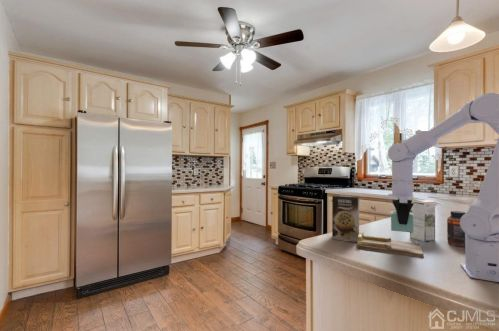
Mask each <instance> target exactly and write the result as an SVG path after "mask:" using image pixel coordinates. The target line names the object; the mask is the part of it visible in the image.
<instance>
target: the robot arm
mask: <svg viewBox="0 0 499 331" xmlns="http://www.w3.org/2000/svg"><path fill="white" fill-rule="evenodd" d="M478 123H482V124H483V123H484V124H487V125H489V127H490V128H491V129H492V130H494V132H496V134H497V135H498V136H499V93H496V92H486V93H482V94H481V95H479V96H477V97H476V98H475V99H474V100H473V99H472V100H470V101H468V102H466V103H465V104H464V105H463V106H462V107H461V108H460V109H459V110H456V111H455V112H454V113H452V114H451V115H450V116H448V117H447V118H445V119H443V120H442V121H440V122H439V123H437V124H436V125H435V126H434V127H432V128H431V129H425V128H423V129H417V130H416V131H415V132H414V134H413V135H411V136H409V138H407V139H405V138H404V139H403V140H402V141H401V143H398V142H397V143H396V142H395V143H393V144H392V145H391V146H390V147H389V148H388V151H387V155H388V156H387V157H388V158H389V159H390V160H391V192H392V193H387V194H388V195H387V196H388V197H393V198H396V199H392V205H393V207H394V208H395V212H397V217H398V222H399V224H404V225H407V222H408V218H409V213H410V210H411V208H412V206H413V205H414V204H413V203H411V202H412V200H413V199H412V198H414V193H413V192H414V189H413V187H414V186H413V185H414V183H413V178H414V177H413V176H414V175H413V165H414V160H415V159H416V157H417V156H418V155H419V154H422V153H424V152H425V151H428V150H429V149H431V148H432V147H435V146H436V145H437V143H438V140H439V139H440V138H442V137H445V136H446V135H448V134H450V133H452V132H454V131H456V130H458V129H460V128H462V127H464V126H465V125H467V124H478ZM460 226H461V229H462V230H463V231H464V232H465V248H464V249H465V251H464V253H465V259H464V260H465V263H464V262H463V263H462V262H460V266H461V267H462V268H463V270H464V272H466V274H467V275H468V277H469V278H470V279H471V278H472V279H477V280H484V281H489V282H495V283H496V282H497V283H499V137H498V138H497V141H496V145H495V147H494V150H493V153H492V156H491V159H490V161H489V164H488V167H487V170H486V173H485V176H484V179H483V182H482V183H481V187H480V189H479V193H478V195H477V197H476V199H475V200H474V201H473V202H472V203H471V204H470V205H469V208H468V209H467V212H465V214H464V215H463V216H462V217H461V219H460Z"/></svg>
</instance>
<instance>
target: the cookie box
mask: <svg viewBox="0 0 499 331" xmlns="http://www.w3.org/2000/svg"><path fill="white" fill-rule="evenodd" d="M331 199H332V201H331V202H332V204H331V205H332V209H331V210H332V212H331V214H332V217H331V218H332V221H331V222H332V224H331V226H332V228H331V229H332V230H331V231H332V233H331V239H332V240H336V241H344V242H351V243H352V242H354V243H358V235H359V233H360V196H359V195H346V194H345V195H344V194H334V195H332V198H331Z"/></svg>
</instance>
